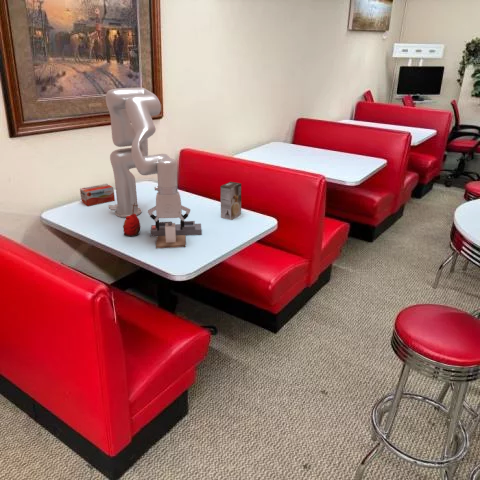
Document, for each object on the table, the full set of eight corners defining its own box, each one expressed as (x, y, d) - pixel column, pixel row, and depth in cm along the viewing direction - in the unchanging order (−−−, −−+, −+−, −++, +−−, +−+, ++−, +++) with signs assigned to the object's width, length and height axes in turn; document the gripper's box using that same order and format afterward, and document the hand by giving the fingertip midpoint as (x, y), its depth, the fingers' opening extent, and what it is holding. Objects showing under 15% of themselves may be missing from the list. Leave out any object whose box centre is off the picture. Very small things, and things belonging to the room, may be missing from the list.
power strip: (150, 236, 187) (150, 228, 186) (151, 230, 194) (151, 221, 192) (201, 234, 190) (201, 226, 188) (201, 228, 196) (200, 220, 194)
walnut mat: (155, 248, 177) (155, 245, 176) (157, 238, 186) (157, 236, 185) (185, 247, 178) (185, 244, 178) (185, 237, 187) (185, 235, 187)
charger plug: (166, 242, 179) (164, 224, 176) (166, 238, 183) (165, 220, 180) (175, 242, 180) (174, 223, 176) (176, 238, 183) (175, 220, 180)
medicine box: (109, 197, 235) (107, 183, 232) (115, 201, 229) (113, 186, 226) (81, 202, 226) (79, 188, 223) (87, 207, 220) (85, 192, 217)
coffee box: (230, 212, 216) (230, 181, 209) (241, 214, 213) (242, 183, 206) (220, 217, 209) (220, 185, 202) (231, 220, 205) (231, 188, 199)
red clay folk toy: (133, 229, 194) (129, 197, 188) (144, 232, 191) (142, 200, 185) (120, 235, 188) (117, 202, 182) (132, 238, 185) (129, 205, 179)
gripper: (145, 193, 168) (148, 233, 175) (189, 192, 170) (191, 232, 177) (146, 187, 175) (149, 226, 182) (189, 186, 177) (190, 225, 184)
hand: (170, 229), depth 179 cm, fingers open, 9 cm apart
